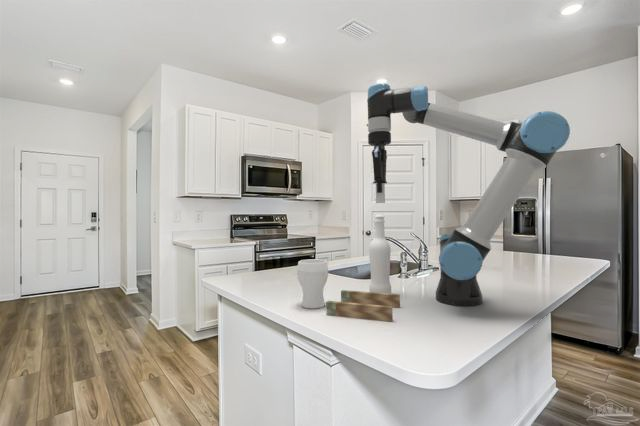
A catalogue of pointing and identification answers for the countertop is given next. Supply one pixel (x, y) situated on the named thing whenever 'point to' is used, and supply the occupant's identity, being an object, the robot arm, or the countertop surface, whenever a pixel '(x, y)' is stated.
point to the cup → (312, 281)
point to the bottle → (379, 259)
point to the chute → (364, 305)
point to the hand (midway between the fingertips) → (380, 202)
